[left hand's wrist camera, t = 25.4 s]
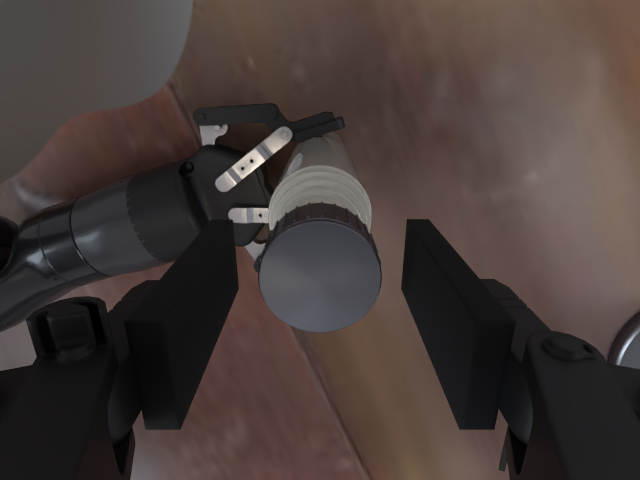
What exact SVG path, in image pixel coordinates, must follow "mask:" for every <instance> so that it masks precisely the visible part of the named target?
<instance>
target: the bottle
mask: <svg viewBox="0 0 640 480" xmlns="http://www.w3.org/2000/svg"><path fill="white" fill-rule="evenodd" d="M309 202H310V203H311V204H312V203H321V202H323V203H328V204H334V203H335V204H336V205H337V206H340V207H342V208H348V211H350V212H352V213H353V214H354V215H356V214H357V215H358V217H359V219H360V220H361V221H362V223H363V224H364V223H365V224H366V226H367V229H368V231H369V232H370V227H371V220H372V210H371V204H370V200H369V198H368V195H367V193H366V191H365V189H364V186H363V184H362V182H361V180H360V178H359V176H358V173H357V171H356V169H355V167H354V165H353V163H352V161H351V158H350V156H349V154H348V152H347V150H346V148H345V145H344V143H343V141H342V140H341V138H340V137H339V136H338V135H337V134H336V133H334V132H333V131H332V132H329V133H326V134H323V135H320V136H317V137H314V138H310V139H307V140H305V141H301V142H298V143H296V145H295V147H294V149H293V151H292V154H291V156H290V158H289V160H288V162H287V164H286V167H285V169H284V171H283V173H282V175H281V177H280V180H279V182H278V184H277V186H276V188H275V190H274V193H273V195H272V197H271V200H270V204H269V209H268V221H269V228H270V230H273V228H274V227H275V224H276V221H277V220H278V221H279V220H280V219H281V218H282V217H283V216H284V215H285V213H286V212H287V213H288V212H290V211H291V210H293V209H295V208H296V206H298V207H300V206H303V205H306V204H308V203H309Z"/></svg>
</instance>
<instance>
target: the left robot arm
mask: <svg viewBox="0 0 640 480" xmlns="http://www.w3.org/2000/svg"><path fill="white" fill-rule="evenodd" d="M238 289H239V287H238V275H237V262H236V250H235V238H234V226H233V219H211V220H210V222H209V223H208V224H207V225H206V226H205V227H204V229H203V230H202V231H201V232H200V233H199V234H198V236H197V237H196V238H195V239H194V240H193V241H192V243H191V244H190V245H189V246H188V247H187V248H186V250H185V251H184V252H183V253H182V254H181V255H180V257H179V258H178V259H177V260H176V261H175V263H174V264H173V265H172V266H171V267H170V268H169V270H168V271H167V272H166V273H165V274H164V275H163V277H162V278H161V279H160V280H146V281H144V282H143V283H141V284H139V285H137V286H135V287H134V288H132V289H130V291H129V292H128V293H127V294H126V295H125V296H124V297H123V298H122V299H121V301H119V302H118V303H117V304H116V305H115V306H114V307H113V310H110V311H109V312H108V313H107V309H106V304H105V302H104V301H103V300H101V299H100V298H96V297H89V296H86V297H73V298H68V299H64V300H59V301H57V302H54V303H51V304H48V305H45V306H44V307H42V308H40V309H38V310H36V311H34V312H33V313H32V314H31V315H30V316H29V317H27V318H26V322H27V325H28V329H29V332H30V335H31V339H32V342H33V345H34V348H35V352H36V355H37V358H36V359H35V361H34V363H33V365H30V366H25V367H20V368H14V369H9V370H4V371H0V480H130V477H131V470H132V463H133V456H134V449H135V437H134V432H133V427H132V425H133V424H134V422H135V420H136V418H137V417H138V415H139V413H140V411H141V409H142V414H143V418H144V423H145V428H146V429H181V427H182V424H183V422H184V420H185V417H186V415H187V412H188V410H189V408H190V405H191V403H192V400H193V398H194V395H195V393H196V391H197V388H198V386H199V383H200V381H201V379H202V376H203V374H204V371H205V369H206V366H207V364H208V362H209V359H210V357H211V354H212V352H213V350H214V347H215V345H216V342H217V340H218V337H219V335H220V333H221V330H222V328H223V325H224V323H225V321H226V318H227V316H228V313H229V311H230V308H231V306H232V304H233V301H234V299H235V296H236V294H237V292H238ZM401 289H402V292H403V294H404V296H405V299H406V301H407V304H408V306H409V308H410V311H411V313H412V316H413V318H414V321H415V323H416V325H417V328H418V330H419V333H420V335H421V337H422V340H423V342H424V345H425V347H426V350H427V352H428V354H429V357H430V359H431V362H432V364H433V366H434V369H435V371H436V374H437V376H438V379H439V381H440V383H441V386H442V388H443V391H444V393H445V395H446V398H447V400H448V403H449V405H450V408H451V410H452V412H453V415H454V417H455V420H456V422H457V424H458V427H459V429H494V428H495V423H496V418H497V414H498V409H500V411H501V413H502V415H503V416H504V418H505V420H506V422H507V423H508V427H507V432H506V437H505V441H504V446H503V450H502V455H501V459H500V465H499V470H501V471H505V467H506V463H507V462H508V469H509V476H510V480H640V313H638V314H637V315H636V316H635V317H633V318H632V319H631V320H630V321H629V322H628V323H627V324H626V325H625V326H624V327H623V329H622V330H621V331H620V332H619V334H618V335H617V337H616V338H615V340H614V342H613V344H612V347H611V349H610V352H609V356H608V363H607V362H606V360H605V359H604V357H603V356H602V354H601V353H600V352H599V351H598V350H597V349H596V348H595V347H593V346H592V345H590V344H589V343H587V342H586V341H584V340H582V339H579V338H577V337H575V336H572V335H569V334H565V333H561V332H557V331H551V330H550V329H549V328H548V327H547V326H546V325H545V324H544V323H543V322H542V321H541V320H540V319H539V318H538V317H537V316H536V315H535V314H534V313H533V312H532V311H531V310H530V308H527V305H526V304H525V303H524V302H523V301H522V300H519V297H518V296H517V295H516V294H515V293H514V292H513V291H512V290H511V289H510V288H509V287H507V286H505V285H504V284H502V283H500V282H498V281H496V280H495V279H479V278H478V277H477V275H476V274H475V273H474V272H473V271H472V270H471V268H470V267H469V266H468V265H467V264H466V263H465V261H464V260H463V259H462V258H461V257H460V255H459V254H458V253H457V252H456V251H455V250H454V248H453V247H452V246H451V245H450V244H449V243H448V241H447V240H446V239H445V238H444V237H443V236H442V234H441V233H440V232H439V231H438V230H437V229H436V227H435V226H434V225H433V224H432V223H431V222H430V220H429V219H407V226H406V238H405V250H404V262H403V275H402V287H401Z"/></svg>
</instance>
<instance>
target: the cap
mask: <svg viewBox="0 0 640 480" xmlns="http://www.w3.org/2000/svg"><path fill="white" fill-rule="evenodd" d="M259 261H261V263H260V266H259V271H258V280H259V287H260V291H261V294H262V297H263V299H264V301H265V303H266V304H267V306H268V307H269V309H270V310H271V311H272V312H273V313H274V314H275V315H276V316H277V317H278V318H279V319H281V320H282V321H283V322H285V323H287V324H288V325H290V326H292V327H295V328H297V329H300V330H304V331H309V332H331V331H336V330H339V329H343V328H345V327H348V326H350V325H352V324H353V323H355V322H357V321H358V320H359V319H361V318H362V317H363V316H364V315H365V314H366V313H367V312H368V311H369V310H370V308H371V307H372V306H373V304H374V302H375V301H376V299H377V296H378V294H379V291H380V287H381V280H382V276H381V266H380V265H381V261H380V259H379V256H378V251H377V248H376V245H375V242H374V240H373V237H372V234H371V233H370V234H369V231H368V229H367V226H366V224H365V223H364V224H363V223H362V221H361V220H360V219H359V217H358V215H357V214H356V215H354V214H353V213H352V212H350V211H348V208H342V207H340V206H337V205H336V204H335V203H334V204H328V203H323V202H321V203H312V204H311V203H310V202H309V203H308V204H306V205H303V206H300V207H298V206H296V208H295V209H293V210H291V211H290V212H288V213H287V212H286V213H285V215H284V216H283V217H282V218H281V219H280V220H279V221H278V220H277V221H276V224H275V227H274V228H273V230H270V232H269V235H268V238H267V240H266V243H265V246H264V249H263V251H262V254H261V257H260V260H259Z"/></svg>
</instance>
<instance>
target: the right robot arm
mask: <svg viewBox="0 0 640 480" xmlns="http://www.w3.org/2000/svg"><path fill="white" fill-rule="evenodd" d="M193 119H194V121H195V123H196V124H198V125H199V126H200V132H201V138H202V144H203V146H202V147H201V148H200V149H199V150H198V151H197V152H196V153H195V154H194V155H193V156H191V157H188V158H185V159H182V160H179V161H176V162H173V163H170V164H167V165H164V166H161V167H158V168H155V169H152V170H149V171H146V172H143V173H140V174H137V175H130V176H126V177H124V178H123V179H122V180H119V181H116V182H112V183H110V184H107V185H105V186H103V187H100V188H98V189H96V190H95V191H93V192H91V193H89V194H86V195H83V196H81V197H78V198H75V199H72V200H69V201H66V202H63V203H60V204H57V205H53V206H50V207H47V208H44V209H41V210H39V211H36V212H34V213H32V214H31V215H29V216H28V217H26V218H25V219H24V220H23V221H22V222H21V224H20V225H19V226H18V225H17V224H15V223H14V222H13V221H11V220H9V219H8V218H6V217H3V216H0V332H2V331H5V330H7V329H9V328H12V327H14V326H16V325H18V324H20V323H22V322H23V321H25V320H26V318H27V317H29V316H30V315H31V314H32V313H33V312H34V311H36V310H38V309H40V308H42V307H44V306H45V305H48V304H51V303H52V302H54V301H55V300H57V299H59V298H60V297H62V296H64V295H65V294H67V293H68V292H70V291H72V290H73V289H75V288H77V287H80V286H83V285H86V284H89V283H93V282H96V281H99V280H102V279H106V278H109V277H112V276H116V275H120V274H125V273H133V272H138V271H143V270H147V269H150V268H153V267H157V266H160V265H163V264H167V263H170V262H173V261H176V260H177V259H178V258H179V257H180V255H181V254H182V253H183V252H184V251H185V250H186V248H187V247H188V246H189V245H190V244H191V243H192V241H193V240H194V239H195V238H196V237H197V236H198V234H199V233H200V232H201V231H202V230H203V229H204V227H205V226H206V225H207V224H208V223H209V222H210V220H211V219H233V226H234V238H235V246H244V247H245V248H246V249H247V251H248V252H249V254H250V255H251V256H252V258H253V259H254V260H255V264H254V269H255V270H256V271H257V272H258V271H259V266H260V263H261V261H259V260H260V257H261V254H262V251H263V249H264V246H265V243H266V240H267V239H265V240H262V241H261V240H257V239H256V238H255V237H256V236H257V234H258V233H259V232H260V230H261V229H262V228H263V226H264V225H265V223H269V221H268V209H269V204H270V200H271V197H272V195H273V193H274V189H273V188H272V187H271V185H270V184H269V182H268V177H267V170H266V167H265V165H264V162H265V161H266V160H267V159H268V158H270V157H271V156H272V155H273V154H274V153H276V152H277V151H278V150H279V149H281V148H282V147H283V146H284V145H286V144H287V143H289V142H292V141H295V140H296V141H297V143H298V142H301V141H305V140H307V139H310V138H314V137H317V136H320V135H323V134H326V133H329V132H332V131H335V130H338V129H341V128H344V127H345V124H344V121H343V117H342V116H341V117H337V118H334V116H333V113H332V112H323V113H320V114H317V115H314V116H311V117H308V118H305V119H302V120H299V121H295V122H291V121H288V120H287V119H285V117H284V116H283V115H282V113H281V112H280V111H279V108H278V106H277V105H275V104H273V103H268V104H253V105H237V106H222V107H208V108H201V109H197V110H196V111H195V112H194V114H193ZM258 122H265V123H266V124H267V125H268V127H269V128H270V129H271V130H272V132H273V133H272V134H271V135H270V136H268V137H267V138H266V139H265V140H263V141H262V142H261V143H260V144H258V145H257V146H256V147H255V148H254V149H252V150H251V151H250V152H249V153H245V152H242V151H239V150H236V149H233V148H230V147H227V146H224V145H221V144H218V143H217V140H218V138H219V136H221V135H224V134H226V133H228V131H229V130H230V124H243V123H258Z"/></svg>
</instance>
